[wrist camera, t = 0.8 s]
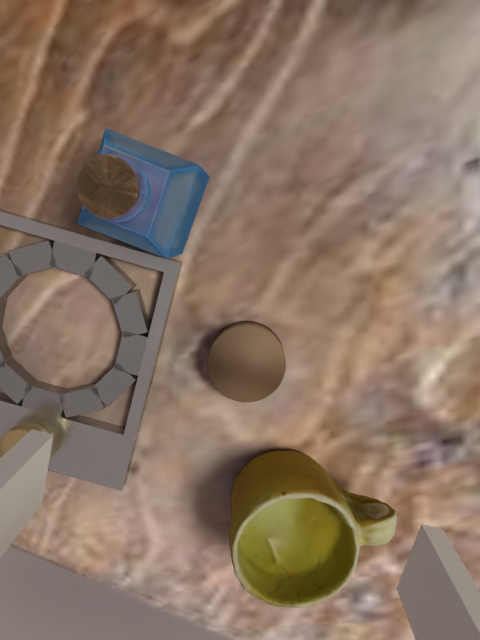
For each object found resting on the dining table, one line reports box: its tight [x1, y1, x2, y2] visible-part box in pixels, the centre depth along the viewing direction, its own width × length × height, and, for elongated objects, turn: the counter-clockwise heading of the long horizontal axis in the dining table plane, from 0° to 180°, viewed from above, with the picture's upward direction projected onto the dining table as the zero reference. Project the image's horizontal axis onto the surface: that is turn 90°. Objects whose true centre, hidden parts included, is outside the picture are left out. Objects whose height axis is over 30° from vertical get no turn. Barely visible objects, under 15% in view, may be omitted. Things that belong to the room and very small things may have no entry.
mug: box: [229, 451, 397, 608], centre depth 35 cm, size 12×10×10 cm
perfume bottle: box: [77, 128, 210, 259], centre depth 29 cm, size 6×6×12 cm
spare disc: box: [207, 321, 286, 402], centre depth 36 cm, size 6×6×2 cm
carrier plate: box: [0, 209, 182, 490], centre depth 35 cm, size 20×16×4 cm
